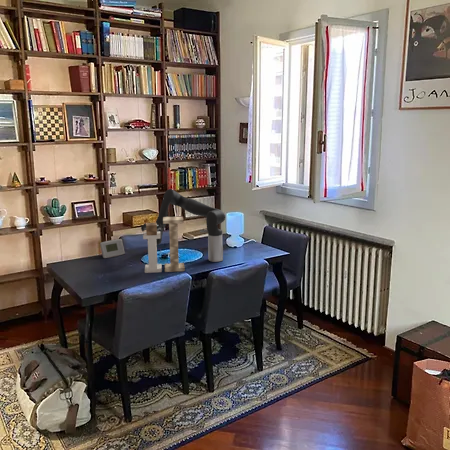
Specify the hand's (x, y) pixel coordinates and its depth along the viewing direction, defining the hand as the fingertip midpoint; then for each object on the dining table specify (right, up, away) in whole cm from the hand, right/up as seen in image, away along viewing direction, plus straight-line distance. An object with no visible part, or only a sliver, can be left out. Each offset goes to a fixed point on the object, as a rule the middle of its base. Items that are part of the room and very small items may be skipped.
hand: (152, 224), depth 287 cm
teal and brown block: (0, -4, -2) cm, 5 cm away
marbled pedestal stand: (+14, -28, -1) cm, 31 cm away
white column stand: (+1, -28, -3) cm, 28 cm away
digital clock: (-31, -22, +27) cm, 46 cm away
